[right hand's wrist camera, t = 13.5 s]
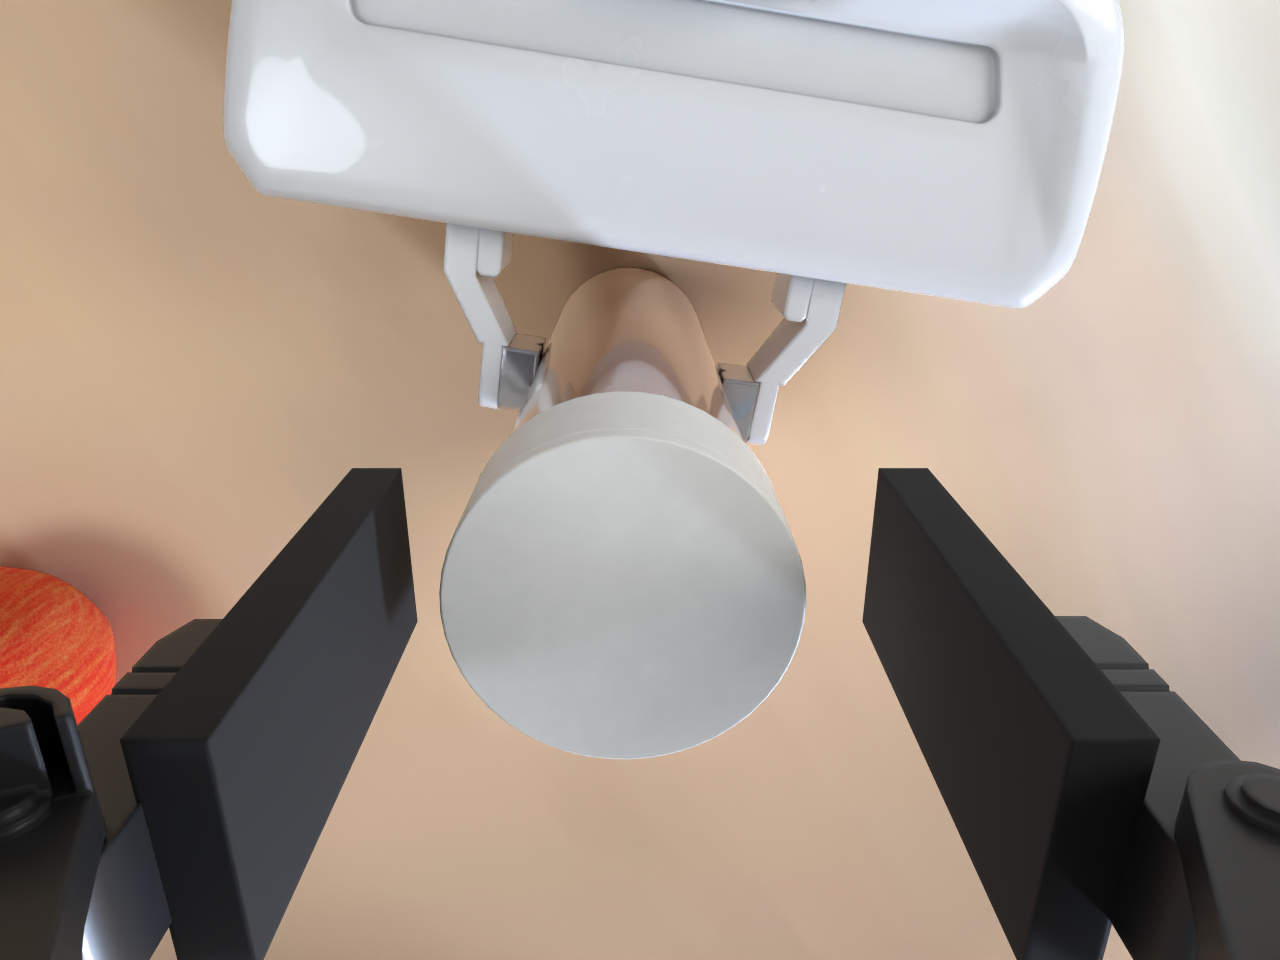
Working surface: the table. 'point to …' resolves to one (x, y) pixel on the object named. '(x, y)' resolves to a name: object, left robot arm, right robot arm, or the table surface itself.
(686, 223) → the left robot arm
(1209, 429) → the table surface
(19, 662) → the apple
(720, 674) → the lid
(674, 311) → the copper bottle
